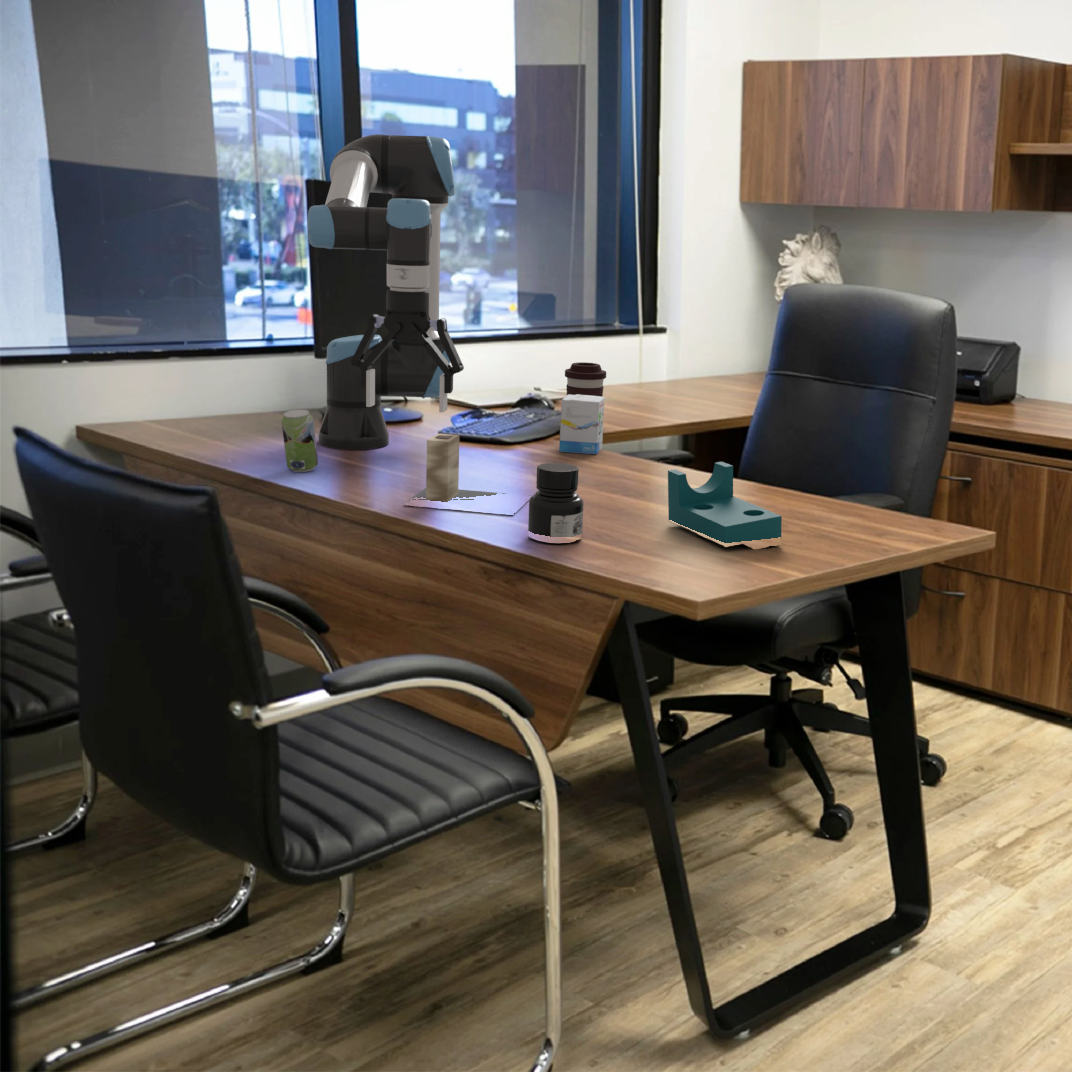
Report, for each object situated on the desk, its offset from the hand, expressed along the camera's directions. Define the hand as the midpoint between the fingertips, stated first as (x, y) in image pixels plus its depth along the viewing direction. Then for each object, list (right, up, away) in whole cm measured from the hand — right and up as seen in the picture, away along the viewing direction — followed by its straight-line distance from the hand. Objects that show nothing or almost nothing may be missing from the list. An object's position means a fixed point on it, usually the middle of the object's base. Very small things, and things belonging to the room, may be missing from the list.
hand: (406, 408), depth 236 cm
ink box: (+33, -4, +52) cm, 62 cm away
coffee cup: (+35, +3, +81) cm, 88 cm away
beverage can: (-23, -10, +21) cm, 33 cm away
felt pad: (+11, -17, +1) cm, 20 cm away
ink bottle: (+26, -24, -21) cm, 41 cm away
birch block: (+6, -16, +2) cm, 17 cm away
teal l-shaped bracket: (+55, -23, -15) cm, 62 cm away
